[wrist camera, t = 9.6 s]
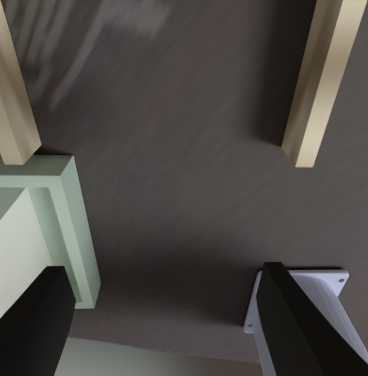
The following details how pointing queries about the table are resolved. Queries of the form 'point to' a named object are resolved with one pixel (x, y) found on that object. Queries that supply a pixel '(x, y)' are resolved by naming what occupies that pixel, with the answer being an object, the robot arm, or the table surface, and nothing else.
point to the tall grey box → (19, 245)
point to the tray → (60, 218)
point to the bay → (300, 109)
